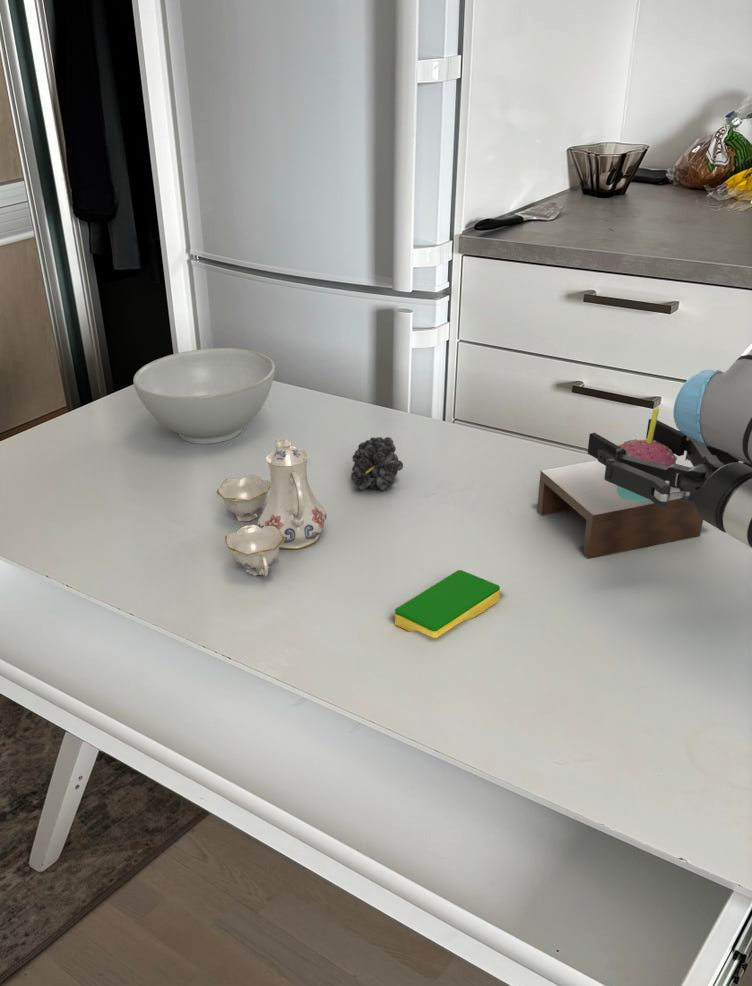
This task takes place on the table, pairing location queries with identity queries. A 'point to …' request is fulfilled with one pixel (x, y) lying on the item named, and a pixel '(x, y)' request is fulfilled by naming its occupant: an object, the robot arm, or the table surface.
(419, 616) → the dish sponge
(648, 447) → the cupcake
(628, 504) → the shelf
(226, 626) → the table surface
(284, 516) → the chinaware
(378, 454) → the fruit
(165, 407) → the decorative bowl
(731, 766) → the table surface
